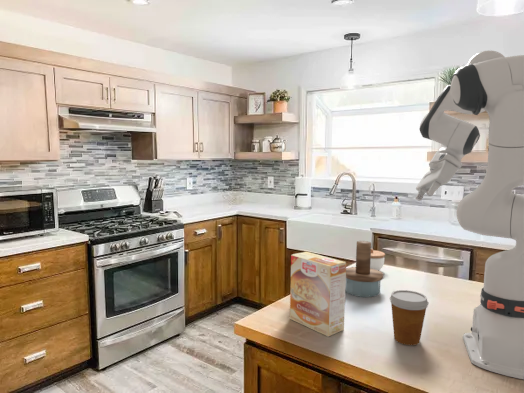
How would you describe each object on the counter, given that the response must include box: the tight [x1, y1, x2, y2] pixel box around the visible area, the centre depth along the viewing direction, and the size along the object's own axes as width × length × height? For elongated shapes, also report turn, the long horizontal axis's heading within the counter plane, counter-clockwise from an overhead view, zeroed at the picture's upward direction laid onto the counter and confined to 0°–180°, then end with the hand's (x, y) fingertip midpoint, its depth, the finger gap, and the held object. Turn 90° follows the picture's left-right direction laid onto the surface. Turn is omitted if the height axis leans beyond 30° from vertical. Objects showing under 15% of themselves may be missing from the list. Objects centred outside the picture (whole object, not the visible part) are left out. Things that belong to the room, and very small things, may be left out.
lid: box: [346, 240, 384, 282], centre depth 137 cm, size 14×14×12 cm
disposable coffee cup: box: [389, 289, 429, 346], centre depth 101 cm, size 10×10×12 cm
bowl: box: [345, 278, 382, 298], centre depth 138 cm, size 12×12×6 cm
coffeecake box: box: [289, 251, 347, 337], centre depth 109 cm, size 15×7×20 cm, turn 40°
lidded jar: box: [370, 248, 386, 271], centre depth 163 cm, size 11×11×9 cm
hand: (423, 197), depth 134 cm, fingers open, 8 cm apart
